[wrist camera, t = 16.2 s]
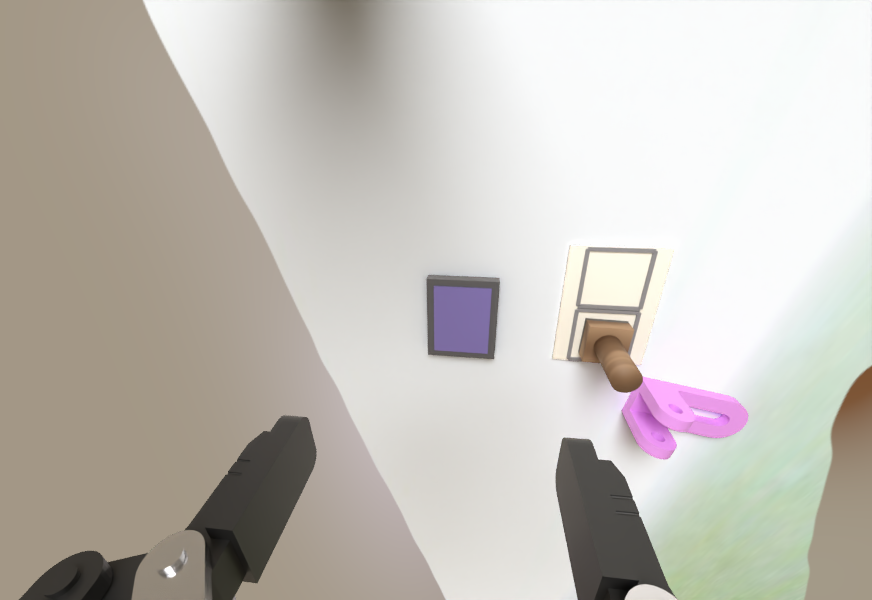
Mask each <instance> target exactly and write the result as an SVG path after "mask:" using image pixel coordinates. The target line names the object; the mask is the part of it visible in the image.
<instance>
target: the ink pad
mask: <svg viewBox="0 0 872 600" xmlns="http://www.w3.org/2000/svg"><path fill="white" fill-rule="evenodd" d="M499 283H500V281H499V278H487V277H463V276H439V275H428V277H427V315H428V354H430V355H444V356H458V357H473V358H487V359H494V351H495V337H496V324H497V310H498V297H499Z"/></svg>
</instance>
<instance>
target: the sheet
mask: <svg viewBox="0 0 872 600" xmlns="http://www.w3.org/2000/svg"><path fill="white" fill-rule="evenodd" d="M673 253H674V248H655V247H621V246H586V245H570V248H569V254H568V261H567V267H566V273H565V280H564V286H563V292H562V299H561V305H560V312H559V318H558V324H557V331H556V337H555V343H554V350H553V356H552V358H553V359H562V360H568V361H582V360H581V358H580V355H579V353H578V350H579V345H580V341H581V336H582V332H583V327H584V323H585V318H592V319H606V320H619V321H628V322H629V324H630V325H631V326H632V328H633V329H634V333H633V337H632V340H631V343H630V347H629V350H628V354H629V356H630V357H631V359H632V360H633V362H634V363H635V365H641V364H642V360H643V357H644V353H645V350H646V346H647V343H648V339H649V336H650V332H651V329H652V325H653V322H654V319H655V315H656V312H657V308H658V305H659V301H660V298H661V294H662V291H663V287H664V284H665V280H666V277H667V273H668V270H669V266H670V263H671V259H672V256H673Z"/></svg>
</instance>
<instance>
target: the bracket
mask: <svg viewBox="0 0 872 600" xmlns="http://www.w3.org/2000/svg"><path fill="white" fill-rule="evenodd" d="M689 407H694V408H698V409H703V410H707V411H711V412H716V413H720V414H723V415H722V416H720V417H719V418H715V419H711V418H707V417H702V416H698V415H694V413H693V412H692V410H691V409H690V408H689ZM622 413H623V415H624V417H625V419H626V421H627V423H628V425H629V427H630V430H631V432H632V434H633V436H634V438H635V440H636V442H637V444H638V445H639V446H640V447H641V448H642V449H643V450H644V451H645V452H646V453H648V454H650V455H651V456H653V457H656V458H659V459H668V458H670V456H671V455H672V453H673V452H674V450H675V449H676V447H677V444H676V442H675V440H674V438H673V437H672V435H671V433H670V432H669V430H668V428H670V429H672V430H675V431H679V432H689V433H693V434H698V435H702V436H707V437H712V438H722V437H727V436H730V435H733V434H735V433H737V432H738V431H740V430H741V429H742V428H743V427H744V426H745V425H746V423H747V421H748V413H747V411H746V409H745V408H744V407H743V406H742V405H741V404H740V403H739V402H738V401H737V400H736V399H735V398H733V397H731V396H728V395H723V394H719V393H714V392H710V391H705V390H701V389H696V388H692V387H687V386H682V385H678V384H673V383H669V382H664V381H660V380H655V379H651V378H646V377H643V382H642V384H641V386H640V387H639V388H638V389H636V390H634V391H632V392H631V394H630V396H629V398H628V400H627V402H626V403H625V405H624V407H623V409H622Z"/></svg>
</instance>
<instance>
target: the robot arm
mask: <svg viewBox="0 0 872 600" xmlns="http://www.w3.org/2000/svg"><path fill="white" fill-rule="evenodd" d="M315 461H316V447H315V443H314V439H313V435H312V431H311V427H310V422H309V420H308V418H307V417H298V416H282V417H281V418H280V419H279V420H278V421H277V423H276V424H275V425H274V427H273V428H272V430H271V432H267V431H264V432H263V433H261V434H260V435H259V436H258V437H256V438H255V439H254V440H253V441H251V442H250V443H249V444H248V445H247V447H246V448H245V449H244V451H243V452H242V453H241V455H240V456H239V458H238V460H237V462H235V463H234V464H233V466H232V467H231V468H230V470H229V471H228V475H225V477H224V478H223V479H222V481H221V482H220V483H219V485H218V486H217V488H216V489H215V490H214V492H213V493H212V495H211V496H210V497H209V499H208V500H207V501H206V503H205V504H204V505H203V507H202V508H201V510H200V511H199V512H198V514H197V515H196V516H195V518H194V519H193V521H192V522H191V523H190V524H189V526H188V527H187V528H186V529H185V530H184V531H180V532H178V533H175V534H172V535H171V536H169V537H167V538H165V539H164V540H162V541H161V542H160V543H158V544H157V545H156V546H155V547H154V548H153V549H151V551H150V552H149V553H146V554H142V555H138V556H133V557H129V558H125V559H120V560H116V561H111V562H107V561H106V560H105V559H104V558H103V557H102V555H101V554H100V553H98V552H96V551H85V552H80V553H78V554H75V555H72V556H70V557H68V558H66V559H64V560H62V561H61V562H59V563H58V564H56V565H54V566H53V567H52V568H50V569H49V570H48V571H47V572H46V573H44V574H43V575H42V576H41V577H40V578H39V579H38V580H37V581H36V582H35V583H34V584H33V585H32V586H31V587H30V588H29V590H28V591H27V592H26V593H25V594H24V595H23V596H22V597H21V598H20V599H19V600H236V598H235V594H236V592H237V591H238V589H239V587H240V585H241V583H242V581H244V582H252V583H258V581H259V579H260V577H261V574H262V572H263V570H264V568H265V566H266V564H267V562H268V560H269V558H270V556H271V554H272V552H273V550H274V548H275V546H276V544H277V542H278V540H279V538H280V536H281V534H282V532H283V530H284V528H285V526H286V523H287V521H288V519H289V517H290V515H291V513H292V511H293V509H294V507H295V505H296V503H297V501H298V499H299V497H300V495H301V493H302V491H303V489H304V487H305V484H306V483H307V481H308V478H309V476H310V474H311V472H312V470H313V468H314V465H315ZM556 491H557V497H558V502H559V507H560V512H561V517H562V522H563V527H564V532H565V537H566V542H567V547H568V552H569V557H570V562H571V567H572V572H573V577H574V583H575V588H576V593H577V598H578V600H678V599H677V598H676V597H675V596H674V594H673V593H672V591H671V589H670V588H669V586H668V584H667V581H666V579H665V577H664V574H663V572H662V569H661V567H660V564H659V562H658V559H657V557H656V554H655V552H654V549H653V547H652V544H651V542H650V539H649V537H648V534H647V532H646V529H645V527H644V524H643V522H642V519H641V517H639V512H638V509H637V507H636V504H635V502H634V501H633V498H632V497H633V496H632V494H631V491H630V489H629V486H628V484H627V481H626V479H625V477H624V476H623V475H622V473H621V472H620V471H619V470H618V469H617V467H616V466H615V465H614V464H613V463H612V462H611V461H609V460H598V458H597V455H596V452H595V449H594V446H593V444H592V442H591V440H589V439H576V438H563V439H562V443H561V448H560V453H559V458H558V464H557V469H556Z"/></svg>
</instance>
